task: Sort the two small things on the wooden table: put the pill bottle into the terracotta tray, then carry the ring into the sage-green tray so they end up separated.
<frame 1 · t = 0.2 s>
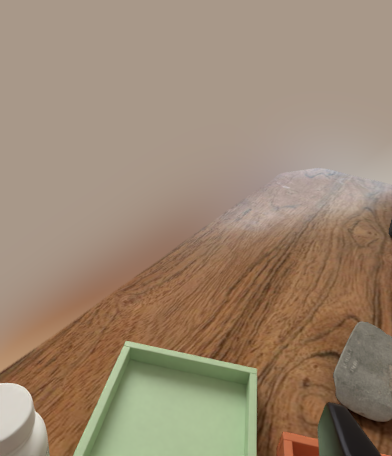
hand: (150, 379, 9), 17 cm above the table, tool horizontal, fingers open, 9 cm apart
sage tray: (174, 432, 26), on the table
stone: (363, 371, 33), on the table
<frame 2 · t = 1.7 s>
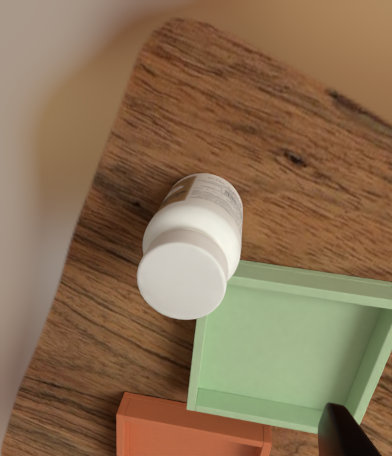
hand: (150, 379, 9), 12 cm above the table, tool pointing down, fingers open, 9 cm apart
sage tray: (281, 340, 23), on the table
terracotta tray: (190, 451, 29), on the table
pill bottle: (204, 207, 20), on the table
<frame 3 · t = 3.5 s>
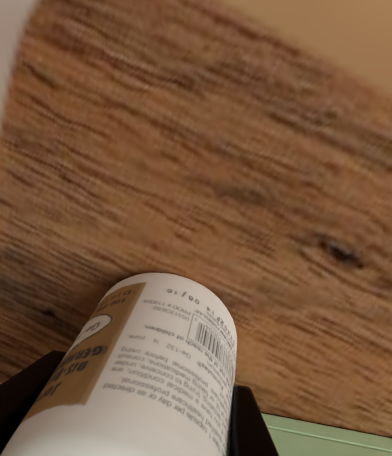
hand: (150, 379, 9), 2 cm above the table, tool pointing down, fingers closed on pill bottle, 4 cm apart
pill bottle: (168, 323, 11), on the table, touching gripper
when the fingers open (2 cm above the table, at t = 18.4 s): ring stays where it is, resting on sage tray.
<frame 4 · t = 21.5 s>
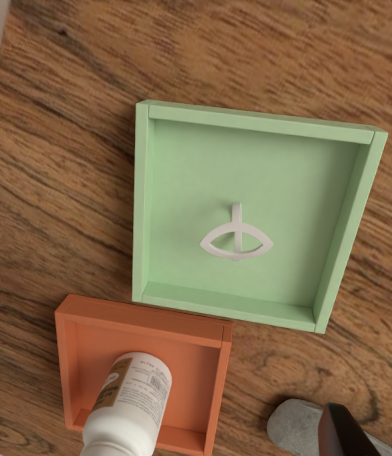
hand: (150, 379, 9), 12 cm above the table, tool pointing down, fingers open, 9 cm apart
sage tray: (240, 215, 20), on the table
terracotta tray: (146, 368, 26), on the table
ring: (238, 218, 20), resting on sage tray
pill bottle: (143, 370, 26), resting on terracotta tray
stone: (344, 434, 26), on the table
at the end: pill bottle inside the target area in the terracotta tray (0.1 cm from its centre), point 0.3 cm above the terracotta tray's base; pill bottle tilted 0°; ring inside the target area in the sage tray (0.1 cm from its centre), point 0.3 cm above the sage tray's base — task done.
